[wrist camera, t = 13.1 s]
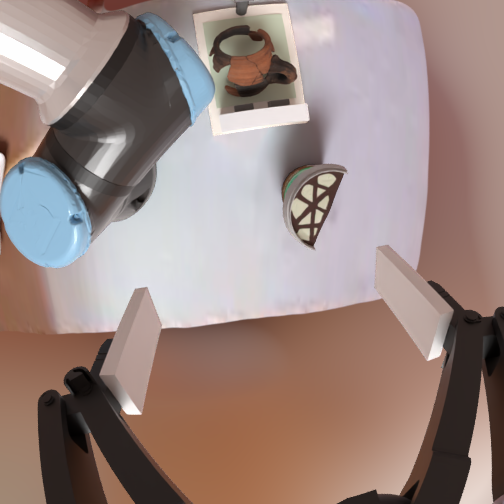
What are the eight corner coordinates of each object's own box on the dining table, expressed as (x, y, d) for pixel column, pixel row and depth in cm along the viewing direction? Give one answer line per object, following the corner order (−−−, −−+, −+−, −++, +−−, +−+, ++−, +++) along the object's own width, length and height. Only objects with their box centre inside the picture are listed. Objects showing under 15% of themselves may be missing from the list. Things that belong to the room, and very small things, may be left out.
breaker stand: (213, 135, 42) (210, 139, 35) (193, 16, 33) (187, -3, 26) (305, 122, 42) (321, 124, 35) (285, 5, 33) (296, -14, 26)
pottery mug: (206, 95, 39) (195, 60, 30) (228, 51, 39) (222, 16, 31) (288, 113, 38) (292, 78, 30) (303, 66, 38) (309, 30, 30)
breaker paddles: (234, 112, 37) (234, 111, 34) (233, 106, 37) (233, 105, 34) (285, 105, 37) (290, 104, 34) (284, 100, 37) (289, 98, 34)
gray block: (233, 16, 33) (235, -2, 26) (232, 8, 32) (233, -11, 26) (250, 14, 33) (254, -4, 26) (248, 6, 32) (252, -13, 26)
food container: (290, 144, 43) (306, 151, 34) (325, 158, 45) (349, 169, 36) (263, 216, 48) (271, 241, 39) (297, 227, 49) (313, 253, 40)
